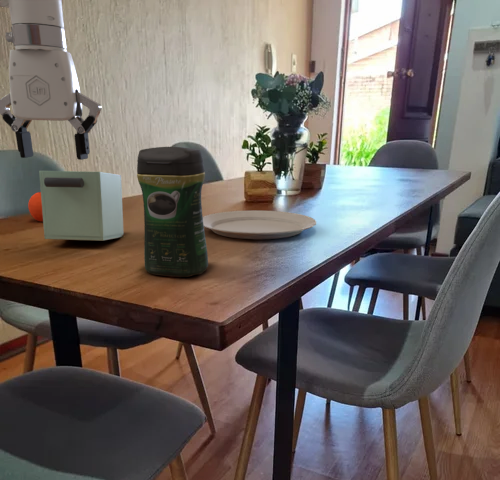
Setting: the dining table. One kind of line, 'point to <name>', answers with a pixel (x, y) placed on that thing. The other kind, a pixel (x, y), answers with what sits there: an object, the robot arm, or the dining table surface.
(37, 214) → the clementine
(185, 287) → the dining table surface
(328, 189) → the dining table surface
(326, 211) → the dining table surface
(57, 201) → the pale sage cube
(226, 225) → the plate
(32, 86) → the robot arm
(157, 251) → the coffee jar
